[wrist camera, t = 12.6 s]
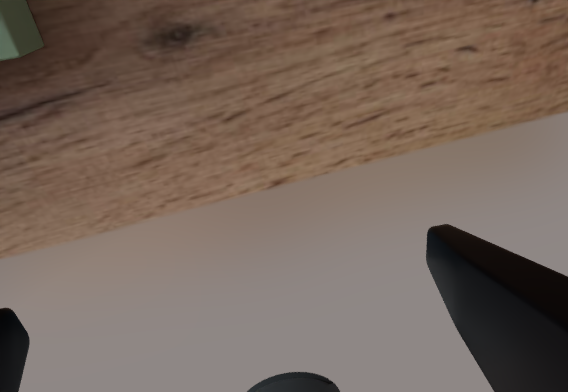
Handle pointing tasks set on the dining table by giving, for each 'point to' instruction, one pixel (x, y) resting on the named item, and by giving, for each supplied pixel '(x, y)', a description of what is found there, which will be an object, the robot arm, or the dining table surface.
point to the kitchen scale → (17, 30)
